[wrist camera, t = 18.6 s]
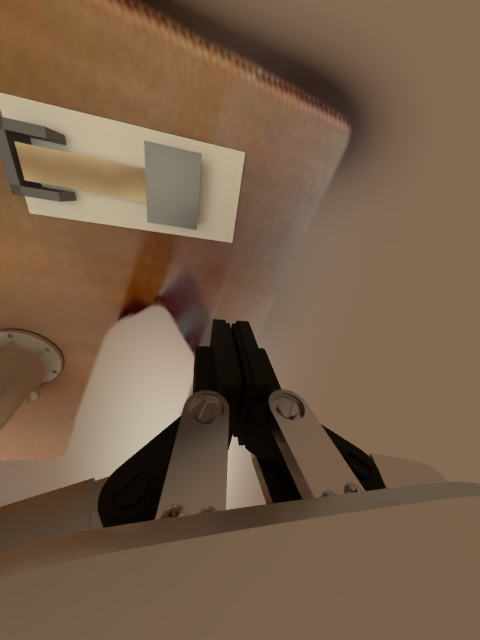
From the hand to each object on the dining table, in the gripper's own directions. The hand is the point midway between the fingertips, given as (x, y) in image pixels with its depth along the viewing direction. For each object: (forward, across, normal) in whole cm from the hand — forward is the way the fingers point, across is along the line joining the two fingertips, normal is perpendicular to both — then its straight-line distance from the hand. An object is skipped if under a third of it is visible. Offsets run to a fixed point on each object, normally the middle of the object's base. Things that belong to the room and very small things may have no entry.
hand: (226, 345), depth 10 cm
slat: (+28, +13, -6) cm, 32 cm away
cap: (+28, +5, -6) cm, 29 cm away
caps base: (+29, +10, -6) cm, 31 cm away
